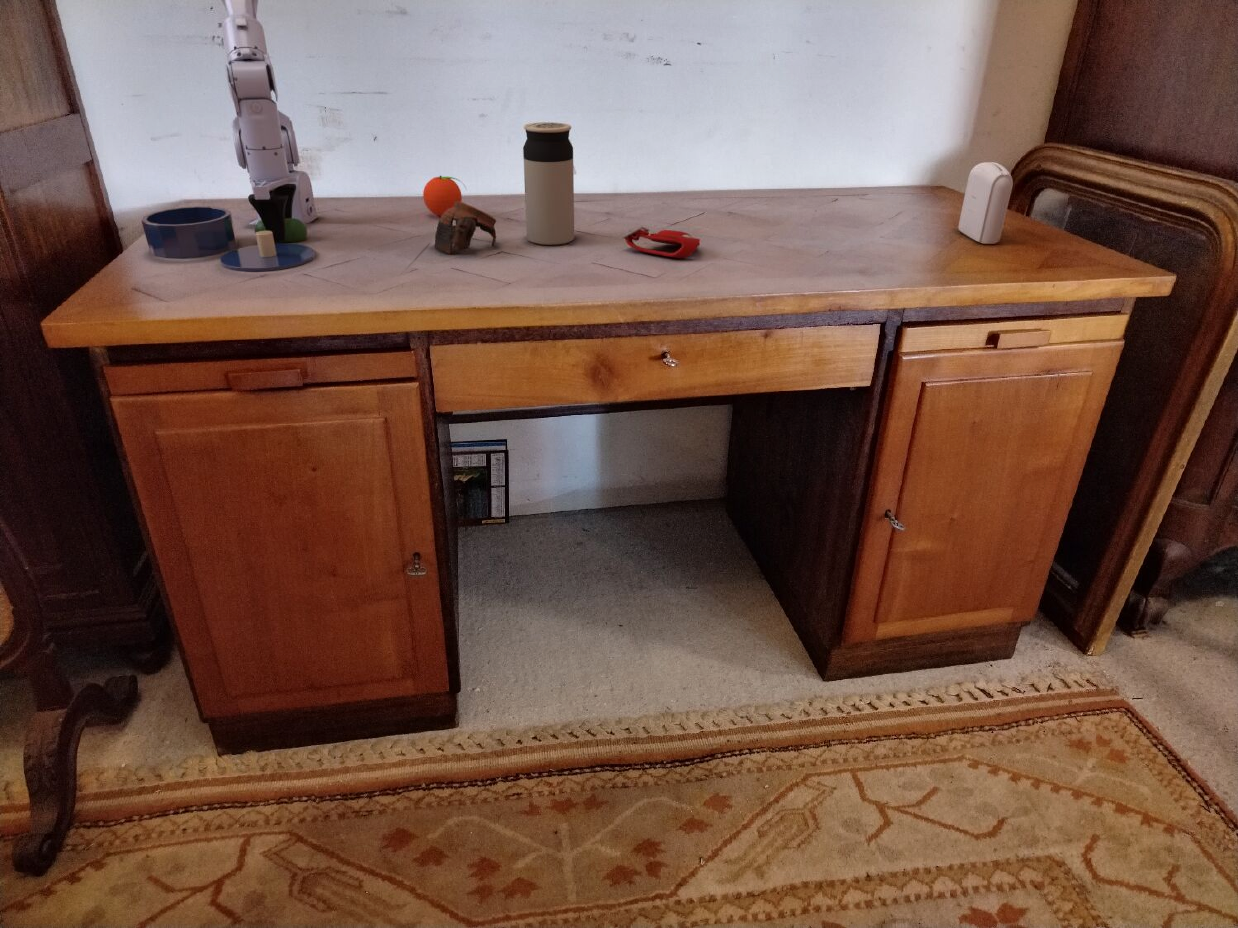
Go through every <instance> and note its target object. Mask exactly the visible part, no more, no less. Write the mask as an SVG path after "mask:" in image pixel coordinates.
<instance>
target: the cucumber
mask: <svg viewBox="0 0 1238 928" xmlns="http://www.w3.org/2000/svg"><path fill="white" fill-rule="evenodd" d="M259 231H266V229H265V227H264V224H263V222H262V220H261V221H259V222H258V223H257V224H256V223H255V227H254V234H255V233H256V232H259ZM307 235H308V229H307V227H306V224H304V223H303V222H301V221H300V220H298V219H295V218H285V240H280V241H274V243H275V244H276V243H299V242H303V241H305V240H306V238H307Z"/></svg>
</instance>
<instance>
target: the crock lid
mask: <svg viewBox="0 0 1238 928" xmlns="http://www.w3.org/2000/svg"><path fill="white" fill-rule="evenodd" d="M254 234H255V239H256V244H255V245H248V246H243V247H240V248H236V249H232V250H230V251H227V252H225V253H224V254H223V255H222V256H221V257H220V258H219V259H220V264H221V266H223V268H226V269H229V270H233V271H239V272H271V271H280V270H286V269H291V268H295V267H299V266H302V265H304V264H307V263H309V262H311V261H312V260H314V259H315V257H316V252H315V250H314V249H313V248H312V247H310V246H307V245H303V244H298V243H288V242H283V243H274V238H273V233H272V231H259V232H256V233H255V232H254Z"/></svg>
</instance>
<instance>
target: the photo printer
mask: <svg viewBox="0 0 1238 928" xmlns="http://www.w3.org/2000/svg"><path fill="white" fill-rule="evenodd" d="M1013 184H1014V180H1013V177H1012V175H1011V173H1010V172H1009V170H1008V169H1007V168H1006V167H1004V166H1003V165H1002V164H1000V163H998V162H994V161H990V162H988V161H987V162H986V161H985V162H980V163H978V164H976V165H975V166H973V168H972V169H971V170H970V172H969V175H968V179H967V183H966V189H965V192H964V197H963V202H962V207H961V211H960V216H959V221H958V227H957V228H958V231H959V232H961V233H962V234H964V235H965V236H967V237H969V238H970V239H972V240H974V241H976V242H978V243H980V244H985V245H995V244H997V243H999V242H1000V240H1001V237H1002V232H1003V228H1004V223H1005V218H1006V214H1007V212H1008V206H1009V202H1010V198H1011V194H1012V189H1013Z"/></svg>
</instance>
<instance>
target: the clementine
mask: <svg viewBox="0 0 1238 928" xmlns="http://www.w3.org/2000/svg"><path fill="white" fill-rule="evenodd" d="M455 180H456V181H458V182H461V183H462V181H461V180H460V179H458V178H456V177H453V176H442V175H439V176H435V177H433V178H430V180H429V181H427V183H426V184H425V186H424V188H423V191H422V192H423V193H422V198H423V201H424V204H425V207H426V208H427V209H428V210H429V211H430V212H431V213H432V214H434V215H436V216H439V217H441V216H442V214H443V213H444V212H445V211H446V210H448V209H450V208H452V207H453V206H454V203H455V201H459V202H462V199H463V194H462V191H461V188H460V187H459V185H458V183H456V181H455ZM463 186H464V188H465V190H467V187H466V185H465V184H463Z"/></svg>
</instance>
